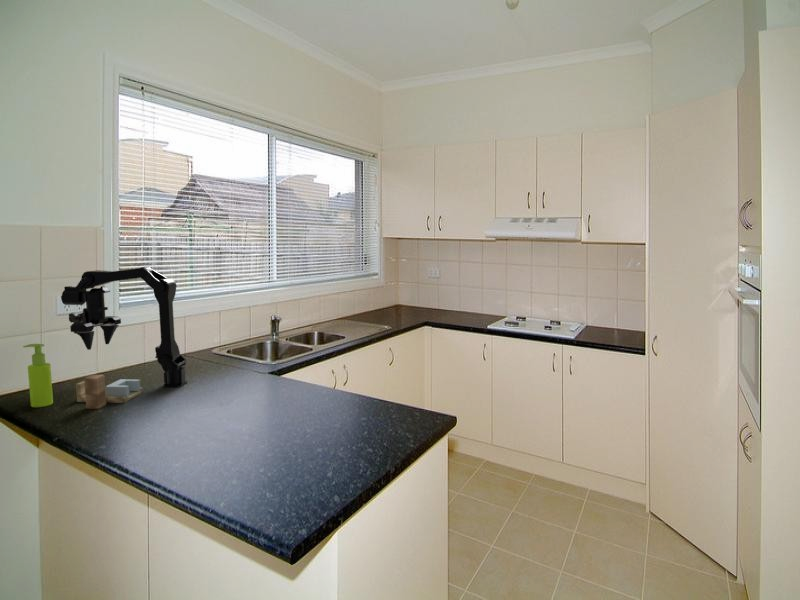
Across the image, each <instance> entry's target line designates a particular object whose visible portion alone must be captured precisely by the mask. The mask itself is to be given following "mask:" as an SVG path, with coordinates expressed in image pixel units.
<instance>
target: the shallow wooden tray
mask: <svg viewBox="0 0 800 600" xmlns="http://www.w3.org/2000/svg"><path fill="white" fill-rule="evenodd" d="M75 389H76V391H75V392H76V402H77V403H86V398H85V382H84V380H82V381H80V382H78V383H76V384H75ZM143 389H144V388H143V387H142V386H141V390H139V391H129V397H127V398H126V397H118V396H106V403H116V404H117V403H121V404H122V403H123V404H124V403H125V404H126V402H128V401H131V400H132V399H135V397H137V396H138V395H141V394H142V393H143V391H144V390H143ZM105 391H106V390H105Z"/></svg>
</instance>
